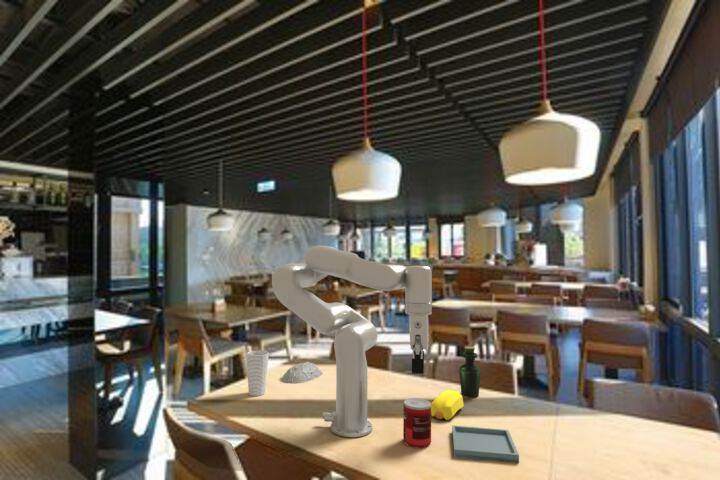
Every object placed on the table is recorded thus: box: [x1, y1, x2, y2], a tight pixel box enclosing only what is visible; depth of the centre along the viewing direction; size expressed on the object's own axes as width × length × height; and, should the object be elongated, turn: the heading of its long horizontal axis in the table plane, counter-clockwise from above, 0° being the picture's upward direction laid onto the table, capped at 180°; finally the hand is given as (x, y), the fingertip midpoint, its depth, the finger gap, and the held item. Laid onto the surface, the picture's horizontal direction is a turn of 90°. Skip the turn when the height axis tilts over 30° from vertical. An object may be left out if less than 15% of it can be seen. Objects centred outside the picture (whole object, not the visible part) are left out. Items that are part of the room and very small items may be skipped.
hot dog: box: [430, 389, 464, 421], centre depth 139 cm, size 18×7×8 cm
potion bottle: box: [458, 345, 482, 398], centre depth 159 cm, size 8×8×18 cm
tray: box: [451, 425, 520, 464], centre depth 114 cm, size 16×16×2 cm
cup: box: [245, 349, 270, 397], centre depth 158 cm, size 8×8×16 cm
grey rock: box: [279, 361, 324, 385], centre depth 182 cm, size 16×25×7 cm, turn 158°
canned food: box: [402, 397, 432, 449], centre depth 117 cm, size 8×8×11 cm
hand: (418, 368), depth 118 cm, fingers open, 9 cm apart
